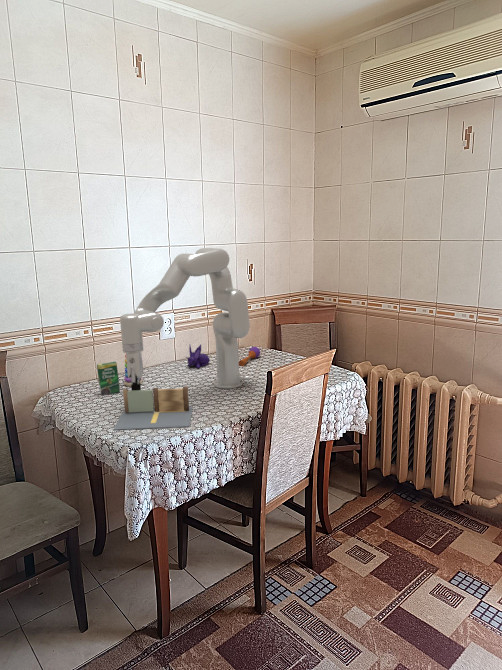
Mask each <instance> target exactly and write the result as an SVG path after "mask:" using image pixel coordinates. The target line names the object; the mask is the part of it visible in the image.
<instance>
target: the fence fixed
mask: <svg viewBox="0 0 502 670" xmlns="http://www.w3.org/2000/svg"><path fill="white" fill-rule="evenodd" d="M152 390H153V402H154V409H155V412H168V411H189V406H190V402H189V387H188V386H187V385H186V386H183V387H182V388H162V389H159V387H153V388H152Z"/></svg>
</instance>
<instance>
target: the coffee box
mask: <svg viewBox="0 0 502 670" xmlns="http://www.w3.org/2000/svg"><path fill="white" fill-rule="evenodd" d="M96 369H97V379H98V385H99V387H98V388H99V394H100V395H101V396H105V395H112V394H117V393H120V392H121V388H120V382H119V381H120V379H119V372H118V364H117V361H111V362H106V363H98V364H96Z"/></svg>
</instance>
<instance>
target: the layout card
mask: <svg viewBox="0 0 502 670" xmlns="http://www.w3.org/2000/svg"><path fill="white" fill-rule="evenodd" d="M193 407H194V406H192V405H191V406H190V405H189V411H168V412H155V409H154V411H145V412H128V413H125V408H124V409H123V410H122V413H121V414H120V416H119V418H118V420H117V422H116V423H115V426H114V428H113V429H112V430H113V431H128V430H129V431H132V430H152V429H153V430H154V429H156V430H157V429H175V428H176V429H177V428H179V429H180V428H190V425H191V420H192V415H193V409H194V408H193Z"/></svg>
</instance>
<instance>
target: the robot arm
mask: <svg viewBox="0 0 502 670" xmlns="http://www.w3.org/2000/svg"><path fill="white" fill-rule="evenodd" d="M229 264H230V255H229V253H228V252H227V251H226V250H225V249H223V248H217V247H216V248H215V247H214V248H213V247H201V248H199V249H197V250H196V251H195V253H180V254H178V255H176V257H175V258H174V259H173V261H172V262H171V264H170V265H169V267H168V268H167V270H166V272H165V273H164V275H163V276H162V278H161V280H160V282H159V283H158V284H157V285H155V287H154V288H152V289H151V290H150V291H149V292H147V294H146V295H144V297H143V298H142V300H141V301H140V303H139V304H138V306H137V307H136V309H135V311H134V313H133V312H132V313H125V314H122V315H121V316H120V318H119V322H120V324H119V325H120V333H121V334H120V335H121V346H122V347H121V348H122V352H123V353H124V354H125V355H126V358H125V359H126V362H127V373H128V378H129V379H130V378H131V386H130V387H131V391H133V390H142V387H141V384H140V378H141V377H142V378H143V374H144V364H143V355H142V354H143V353H142V352H143V351H144V340H143V338H144V337H143V333H155V332H158V331H160V330H161V329H162V328H163V327H164V324H165V323H164V322H165V321H164V317H163V315H161V314H160V313H159V312H156V311H157V310H158V309H159V308H160V307H161V306H162V305H163V304H165V303H166V302H169V301H170V300H173V299H175V298H177V297H178V296H179V295H180V293H181V292H182V291H183V288H184V287H185V285H186V283H187V282H188V280H189V278H190V277H202V276H206V275H208V276H209V279H210V282H211V291H212V300H213V305H214V307H215V308H216V309H217V310H219V311H224V312H220V313H218V314H216V315H215V316H214V318H213V321H212V329H213V333H214V339H215V352H216V353H215V355H216V380H214V382H213V385H214V387H215V388H219V389H224V390H225V389H227V390H228V389H237V388H240V387H241V386H243V384H244V382H243V381H250V380H251V379H250V378H251V377H250V375H247V374H243V375H242V374H240V373H241V372H240V366H239V361H240V359H239V357H240V356H239V343H238V339H244V338H245V337H246V336H247V335H248V333H249V331H250V324H251V323H250V313H249V303H248V298H247V296H246V294H245V292H243V291H242V290H240V289H237V288H234V286H233V282H232V281H233V280H232V275H231V271H230V268H229ZM142 378H141V379H142Z"/></svg>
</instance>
